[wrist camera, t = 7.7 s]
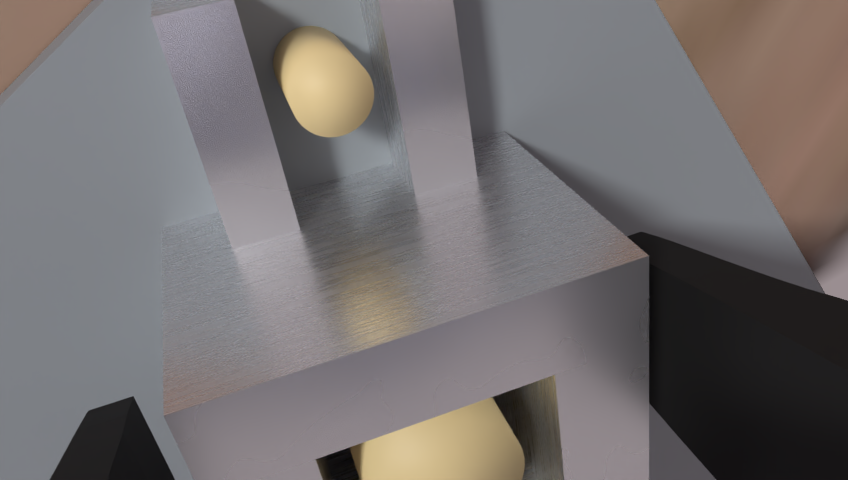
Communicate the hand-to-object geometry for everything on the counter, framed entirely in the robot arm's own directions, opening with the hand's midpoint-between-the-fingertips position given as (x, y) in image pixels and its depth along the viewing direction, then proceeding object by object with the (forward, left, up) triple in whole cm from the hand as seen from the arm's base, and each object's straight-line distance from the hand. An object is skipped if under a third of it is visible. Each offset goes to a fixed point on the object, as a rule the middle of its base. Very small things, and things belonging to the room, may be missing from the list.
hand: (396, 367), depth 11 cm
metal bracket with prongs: (+1, +1, -1) cm, 2 cm away
